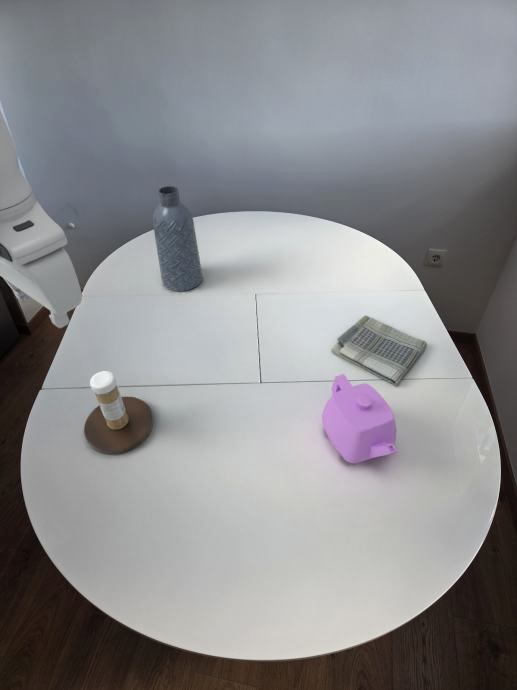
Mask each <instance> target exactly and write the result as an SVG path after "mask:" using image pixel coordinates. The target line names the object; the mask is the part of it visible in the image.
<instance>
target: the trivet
mask: <svg viewBox="0 0 517 690" xmlns="http://www.w3.org/2000/svg"><path fill="white" fill-rule="evenodd" d="M121 398H122V401H123V404H124V406H125V411H126V413H127V415H128V417H129V420H128V423H127V424H126V426H124V427H123V428H121V429H117V430H116V429H115V430H113V429H111V428H109V427H108V425H107V421H106V419H105V417H104V415H103V413H102V410H101V408H100V405H99V404H98V406H96V407H95V408H94V409H93V410H92V411H91V412H90V413H89V415H88V416H87V418H86V420H85V423H84V427H83V433H84V437H85V440H86V442H87V443H88V445H89V446H90V448H92V449H93V450H94V451H96V452H97V453H100V454H104V455H109V456H110V455H111V456H113V455H114V456H115V455H121V454H125V453H128V452H130V451H132V450H134V449H136V448H138V447H139V446H140V445H142V444H143V443H144V442H145V441H146V439H148V437H149V436H150V434H151V432H152V430H153V426H154V416H153V413H152V410H151V408H150V406H149V404H148V403H146V401H144V400H142V399H140V398H137V397H133V396H121Z"/></svg>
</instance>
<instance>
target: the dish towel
mask: <svg viewBox="0 0 517 690" xmlns="http://www.w3.org/2000/svg"><path fill="white" fill-rule="evenodd" d="M336 341H338V342H337V343H336V344H334V345H333V346H332V348H331V350H330V351H331V352H332V354H335V355H337V356H338V357H340V358H342V359H344V360H346V361H348V362H350V363H352V364H354V365H356V366H358V367H360V368H362V369H364V370H366V371H367V372H370V373H371V374H373V375H374V376H377V377H378V378H380V379H383V380H385V381H386V382H388V383H389V384H391V385H392V386H398V385H399V383H400V382H401V381H402V380H403V378H404V376H406V374H407V373H408V372H409V371H410V370H411V369H412V367H413V366H414V364H415V363H416V361H417V360H418V359H419V358H420V357H421V355H422V354H423V352H424V351H425V349H426V347H427V345H428V344H427V341H426V340H423V339H419V338H416V337H414V336H411V335H409V334H407V333H405V332H403V331H400V330H398V329H396V328H394V327H393V326H391V325H387V324H385V323H383V322H381V321H379V320H377V319H375V318H373V317H372V316H371V317H370V316H369V315H363V316H362V317H361V318H360V319H358V321H357V322H356V323H354V324H353V325H352V326H351V327H350V328H348V329H347V330H346V331H345V332H343V333H342V334H341V335H339V337H337V339H336Z"/></svg>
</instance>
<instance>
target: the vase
mask: <svg viewBox="0 0 517 690" xmlns="http://www.w3.org/2000/svg"><path fill="white" fill-rule="evenodd" d="M157 193H158V198H159V204H158V205H157V206H156V208H155V210H154V211H153V216H152V225H153V226H152V227H153V231H154V232H153V233H154V239H155V240H154V241H155V246H156V253H157V259H158V264H159V271H160V272H159V273H160V278H161V282H162V284H163V286H164V287H165V288H166V289H168V290H169V291H173V292H187V291H190V290H193V289H195V288H196V287H198V286H200V284H201V283H202V281H203V269H202V265H201V259H200V252H199V247H198V240H197V235H196V233H197V232H196V228H195V222H194V218H193V214H192V212H191V210H190V208H189V207H188V206H187V205H186V204H184V203H183V202H182V201H181V199H180V193H179V189H178V188H177V187H176V186H173V185H168V186H167V185H166V186H163V187H160V188H159V189H158V192H157Z"/></svg>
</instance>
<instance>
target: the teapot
mask: <svg viewBox="0 0 517 690" xmlns="http://www.w3.org/2000/svg"><path fill="white" fill-rule="evenodd" d="M331 392H332V395H331V396H330V398H329V399H328V400H327V402H326V403H325V405H324V407H323V410H322V414H321V421H322V426H323V428H324V429H323V430H324V431H325V433H326V436H327V438H328V439H329V441H330V442H331V445H332V447H334V449H335V450H336V452H338V454H340V456H341V457H342V458H343V460H344V461H346V463H347V462H348V463H349V464H359V463H362V462H365V461H370V460H371V459H374V458H379V457H384V456H388V455H392V454H394V453H397V452H398V449H397V448H396V446H395V444H396V441H397V425H396V424H397V423H396V418H395V415H394V412H393V410H392V409H391V407H390V405H389V404H388V403H387V401H386V399H385V398H384V397H383V395H381V394H380V392H378V391H377V390H376V389H375V388H374V387H373V386H372V385H370V384H369V383H364V382H363V383H360V384H356V385H352V384H351V382H350V380H349V379H348V378H347V376H346V374H345V373H343V374H339V375H335V377H334V379H333V382H332V385H331Z"/></svg>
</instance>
